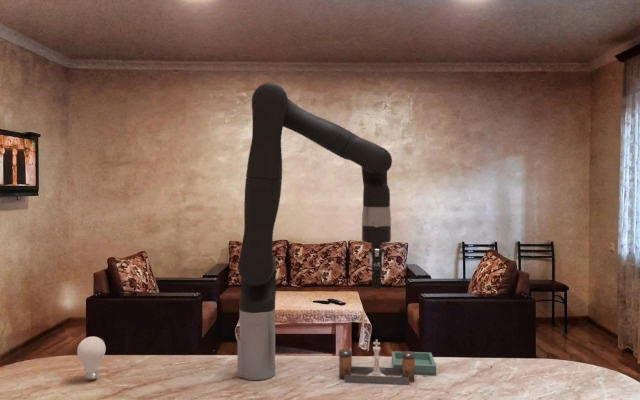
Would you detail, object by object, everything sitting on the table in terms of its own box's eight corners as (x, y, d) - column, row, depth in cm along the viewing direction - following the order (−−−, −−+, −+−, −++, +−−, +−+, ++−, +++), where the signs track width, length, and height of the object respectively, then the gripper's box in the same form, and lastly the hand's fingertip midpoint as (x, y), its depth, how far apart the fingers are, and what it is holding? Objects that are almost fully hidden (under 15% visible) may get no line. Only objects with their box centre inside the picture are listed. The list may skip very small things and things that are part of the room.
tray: (393, 373, 137) (393, 364, 137) (391, 359, 148) (391, 351, 148) (436, 375, 136) (436, 366, 136) (431, 361, 147) (431, 352, 147)
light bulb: (111, 377, 134) (111, 335, 134) (90, 386, 128) (90, 342, 128) (93, 373, 137) (92, 332, 136) (71, 382, 131) (70, 338, 130)
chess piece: (385, 383, 130) (385, 343, 130) (365, 381, 131) (366, 342, 131) (386, 376, 135) (387, 337, 135) (368, 374, 136) (368, 336, 136)
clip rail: (337, 382, 131) (338, 355, 131) (339, 372, 138) (339, 347, 137) (416, 385, 129) (416, 357, 129) (413, 375, 136) (413, 349, 136)
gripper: (362, 221, 144) (362, 280, 145) (362, 225, 130) (361, 290, 131) (389, 222, 144) (389, 280, 144) (392, 226, 130) (392, 290, 130)
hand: (376, 285), depth 137 cm, fingers open, 8 cm apart
